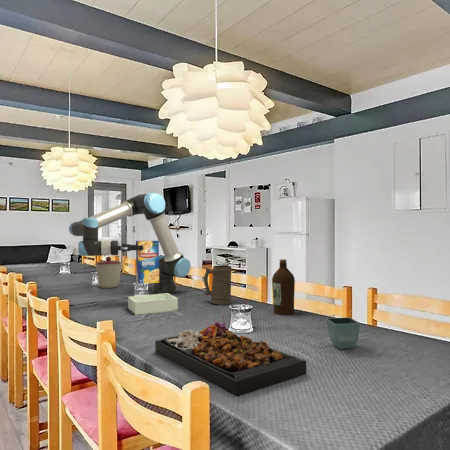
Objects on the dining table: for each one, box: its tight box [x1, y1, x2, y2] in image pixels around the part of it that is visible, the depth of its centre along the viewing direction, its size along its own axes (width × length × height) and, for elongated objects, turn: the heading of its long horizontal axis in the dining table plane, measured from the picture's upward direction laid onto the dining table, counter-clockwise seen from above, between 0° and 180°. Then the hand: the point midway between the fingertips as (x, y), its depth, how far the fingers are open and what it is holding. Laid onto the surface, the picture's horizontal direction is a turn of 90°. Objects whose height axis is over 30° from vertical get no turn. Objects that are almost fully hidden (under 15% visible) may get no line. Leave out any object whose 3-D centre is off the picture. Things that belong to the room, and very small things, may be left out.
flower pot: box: [326, 317, 361, 350], centre depth 139 cm, size 9×9×9 cm
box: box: [127, 293, 179, 316], centre depth 205 cm, size 21×17×6 cm
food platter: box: [154, 316, 307, 397], centre depth 126 cm, size 45×25×10 cm, turn 36°
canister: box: [94, 256, 123, 289], centre depth 281 cm, size 18×18×21 cm
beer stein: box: [203, 264, 233, 306], centre depth 218 cm, size 15×11×20 cm
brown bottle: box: [271, 258, 296, 316], centre depth 192 cm, size 11×11×25 cm
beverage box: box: [135, 239, 160, 285], centre depth 215 cm, size 7×11×22 cm, turn 111°
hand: (156, 247), depth 216 cm, fingers closed on beverage box, 3 cm apart
